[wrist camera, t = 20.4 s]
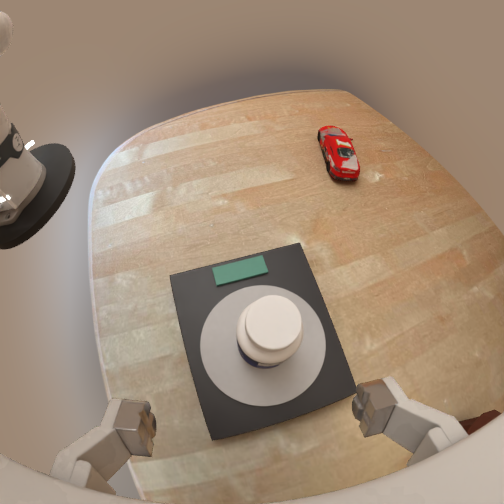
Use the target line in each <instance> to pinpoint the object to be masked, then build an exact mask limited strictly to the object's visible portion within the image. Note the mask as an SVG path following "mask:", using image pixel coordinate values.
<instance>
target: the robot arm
mask: <svg viewBox="0 0 504 504" xmlns="http://www.w3.org/2000/svg"><path fill="white" fill-rule="evenodd" d="M12 36H13V24H12V21H11V19H10V17H9V16H8V15H7V14H5V13H3V12H1V11H0V56H1V55H2V54H3V53H4V52H5V51H6V50H7V49H8V48H9V45H10V43H11V40H12ZM33 144H34V142H33V140H32V141H31V142H30V143H28V144H27V145H26V146H24V144H23V141H22V139H21V137H20V135H19V133H18V131H17V130H16V128H15V126H14V125H13V123H10V122H9V120H8V118H7V116H6V114H5V112H4V110H3V108H2V106H1V104H0V226H3V225H8V224H12V223H14V222H15V221H16V220H17V218H18V217H19V215H20V214H21V212H22V210H23V209H24V208H25V207H26V206H27V205H28V204H29V203H30V202H31V201H32V200H33V198H34V197H35V196H36V195H37V193H38V192H39V190H40V188H41V187H42V185H43V183H44V180H45V177H46V168H45V166H44V165H43V164H42V163H40V162H39V161H38V160H37V159H36V158H35V157H34V156H33V155H32V154H31V153H30V152H29V151H28V150H27V149H28V148H29V147H30V146H32V145H33ZM355 391H356V393H357V395H356V396H355V397H354V398H353V401H352V411H353V414H354V417H355V419H357V420H359V421H361V422H360V425H359V427H360V429H361V431H362V433H363V435H364V437H369V436H372V435H376V434H380V433H383V434H384V435H386V436H387V437H389V438H390V439H392V440H393V441H395V442H396V443H398V444H399V445H401V446H402V447H404V448H405V449H407V450H409V451H410V452H412V453H413V455H412V456H411V458H410V459H409V461H408V462H407V466H408V467H406V468H404V469H401V470H399V471H396V472H393V473H391V474H388V475H385V476H383V477H380V478H377V479H374V480H371V481H368V482H365V483H362V484H358V485H355V486H352V487H348V488H344V489H341V490H337V491H333V492H328V493H324V494H319V495H315V496H310V497H304V498H299V499H292V500H286V501H278V502H270V503H260V504H504V412H503V413H502V414H500V415H499V416H498V417H496V418H495V419H493V420H492V421H490V422H489V423H487V424H486V425H485V426H483V427H481V428H480V429H478V430H477V431H475V432H474V433H472V434H470V435H468V434H467V433H466V431H465V430H464V429H463V427H462V426H461V425H460V423H459V422H458V421H457V419H456V418H455V417H453V416H451V415H448V414H446V413H444V412H441V411H439V410H436V409H434V408H432V407H429V406H427V405H425V404H422V403H420V402H418V401H415V400H413V399H411V400H409V399H408V397H407V396H406V394H405V393H404V392H403V390H402V389H401V387H400V386H399V385H398V383H397V382H396V380H395V379H394V378H393V377H392V376H388V377H385V378H381V379H377V380H373V381H369V382H365V383H361V384H358V385H357V387H356V390H355ZM150 409H151V407H150V404H149V402H147V401H138V400H128V399H119V398H112V399H111V400H110V401H109V404H108V406H107V409H106V412H105V414H104V417H103V419H102V422H101V424H100V426H96V427H95V428H93V429H92V430H90V431H89V432H87V433H86V434H85V435H83V436H82V437H80V438H79V439H77V440H76V441H75V442H73V443H72V444H70V445H69V446H67V447H66V448H64V449H63V450H61V451H60V452H59V453H58V454H57V457H56V459H55V462H54V464H53V467H52V469H51V471H50V474H49V475H46V474H44V473H41V472H39V471H36V470H34V469H32V468H29V467H27V466H25V465H23V464H21V463H19V462H16V461H14V460H12V459H10V458H8V457H6V456H4V455H3V454H1V453H0V504H171V503H161V502H153V501H146V500H139V499H133V498H128V497H122V496H117V495H116V492H115V490H114V489H113V488H112V487H111V486H110V485H109V484H108V483H107V481H108V480H109V479H110V478H111V477H112V476H113V475H114V474H115V473H116V472H117V471H118V470H119V469H120V468H121V467H122V466H123V465H124V464H125V463H126V462H127V460H128V459H129V458H130V457H131V455H136V456H147V457H152V451H153V446H154V444H153V441H152V438H153V437H155V435H156V420H155V416H154V414H152V413H151V412H150Z"/></svg>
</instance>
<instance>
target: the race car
mask: <svg viewBox="0 0 504 504" xmlns="http://www.w3.org/2000/svg"><path fill="white" fill-rule="evenodd" d="M351 140H353V139H349V138H348V136H347V134H346V133H345V132H344V131H343V130H342V129H340V128H338V127H335V126H325V127H322V128H320V129H319V131H318V141H320V145H321V148H322V151H323V155H324V158H325V161H326V163H327V171H328V172H329V173H330V175H331V176H332V177H333V178H335V179H338V180H343V181H353V180H354V181H355V180H357V179H358V176H359V173H360V166H359V162H358V159H357V156H356V153H355V151H354V148H353V145H352V143H351Z"/></svg>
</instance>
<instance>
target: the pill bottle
mask: <svg viewBox="0 0 504 504" xmlns="http://www.w3.org/2000/svg"><path fill="white" fill-rule="evenodd" d="M303 334H304V328H303V323H302V318H301V314H300V312H299V310H298V308H297V307H296V305H295V304H294V303H293V302H292V301H290V300H289V299H287V298H285V297H282V296H278V295H268V296H264V297H262V298H260V299H258V300H256V301H255V302H253V303H251V304H250V305H249V306H247V307H246V308H245V309H244V310H243V312H242V313H241V315H240V317H239V319H238V322H237V326H236V337H237V346H238V350H239V353H240V355H241V357H242V358H243V359H244V361H245V362H246V363H248V364H249V365H251V366H253V367H255V368H258V369H270V368H274V367H276V366H278V365H280V364H281V363H283V362H284V361H286V360H287V359H289V358H290V357H291V356H292V355H293V354H294V353H295V352H296V351H297V350H298V348H299V347H300V345H301V342H302V340H303Z"/></svg>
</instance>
